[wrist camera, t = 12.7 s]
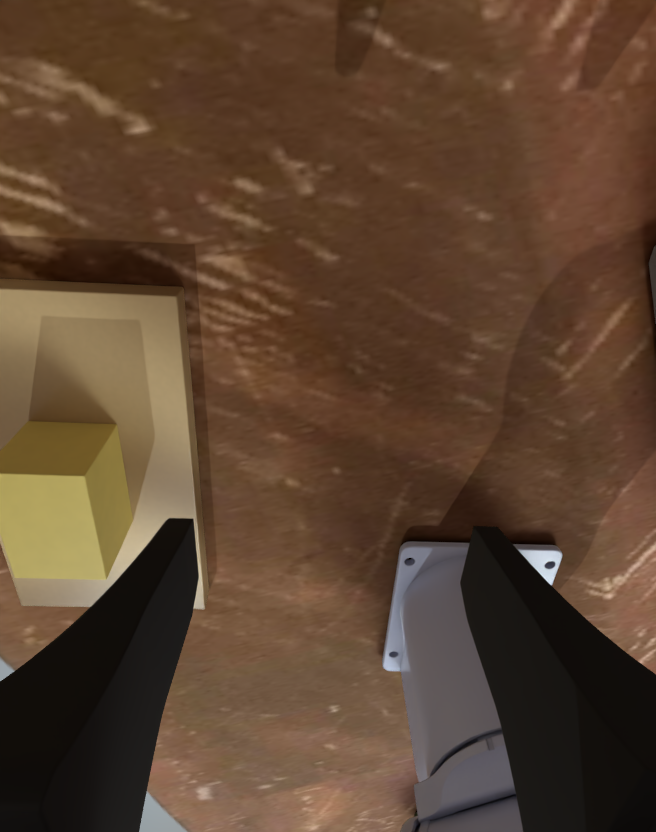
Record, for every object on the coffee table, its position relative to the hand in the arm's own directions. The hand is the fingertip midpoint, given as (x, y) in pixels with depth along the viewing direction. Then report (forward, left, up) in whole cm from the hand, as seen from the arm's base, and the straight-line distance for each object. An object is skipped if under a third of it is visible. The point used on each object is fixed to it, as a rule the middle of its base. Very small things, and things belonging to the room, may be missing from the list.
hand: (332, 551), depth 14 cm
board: (-4, +10, -9) cm, 14 cm away
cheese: (-4, +10, -8) cm, 13 cm away
